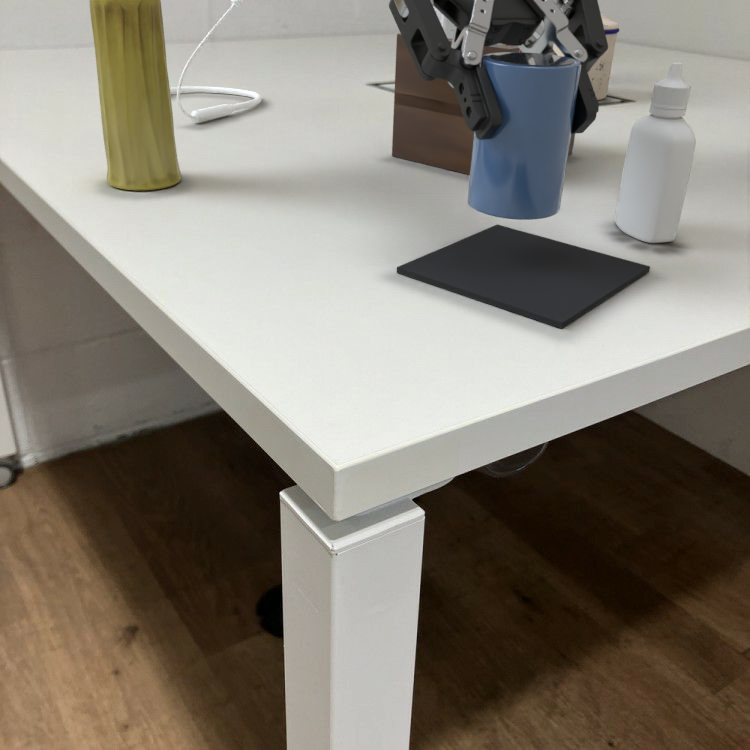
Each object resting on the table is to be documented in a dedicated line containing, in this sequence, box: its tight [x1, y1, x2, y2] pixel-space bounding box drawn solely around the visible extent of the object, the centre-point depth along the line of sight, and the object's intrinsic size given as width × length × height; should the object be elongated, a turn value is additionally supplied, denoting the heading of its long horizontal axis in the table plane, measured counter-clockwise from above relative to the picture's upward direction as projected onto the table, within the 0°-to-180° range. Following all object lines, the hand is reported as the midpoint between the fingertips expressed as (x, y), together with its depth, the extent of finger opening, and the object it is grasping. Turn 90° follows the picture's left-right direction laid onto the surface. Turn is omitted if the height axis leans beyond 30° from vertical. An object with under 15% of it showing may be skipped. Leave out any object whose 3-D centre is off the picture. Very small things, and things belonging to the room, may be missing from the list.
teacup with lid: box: [553, 11, 620, 101], centre depth 106 cm, size 12×9×12 cm
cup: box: [467, 52, 581, 221], centre depth 51 cm, size 6×6×9 cm
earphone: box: [169, 0, 263, 124], centre depth 94 cm, size 14×17×18 cm
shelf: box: [391, 32, 576, 176], centre depth 78 cm, size 14×12×11 cm
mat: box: [396, 223, 651, 329], centre depth 54 cm, size 12×12×1 cm
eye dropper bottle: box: [614, 62, 697, 244], centre depth 59 cm, size 4×6×12 cm
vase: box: [89, 0, 182, 192], centre depth 65 cm, size 6×6×14 cm
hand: (538, 128), depth 50 cm, fingers closed on cup, 6 cm apart
